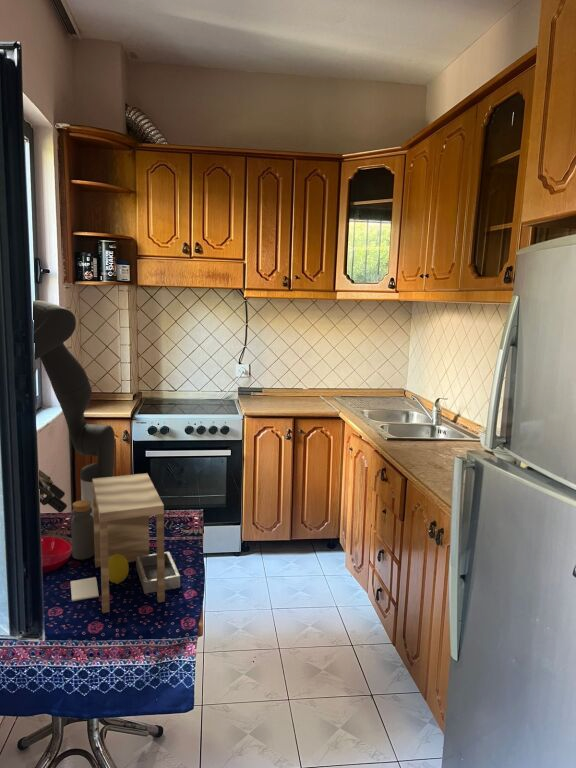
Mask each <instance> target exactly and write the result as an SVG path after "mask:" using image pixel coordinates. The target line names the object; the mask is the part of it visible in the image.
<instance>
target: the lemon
mask: <svg viewBox="0 0 576 768" xmlns="http://www.w3.org/2000/svg"><path fill="white" fill-rule="evenodd" d="M129 568H130V566H129V562H128V561H127V559H126V558H125V557H124V556H123V555H120V554H115V555H113V556H111V557H110V558H109V559H108V570H109V582H111V583H113V584H116V585H119V584H120V583H122V582H123V581H125V579H126V578H127V577H128V575H129Z"/></svg>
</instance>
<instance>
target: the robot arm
mask: <svg viewBox="0 0 576 768" xmlns="http://www.w3.org/2000/svg"><path fill="white" fill-rule="evenodd" d="M32 301H33V320H34V343H35V361H36V360H38V359H40V361H41V363H42V365H43V368H44V370H45V372H46V374H47V377H48V379H49V382H50V386H51V388H52V390H53V393H54V395H55V397H56V400H57V401H58V403H59V406H60V408H61V411H62V414H63V415H64V419H65V422H66V425H67V428H68V431H69V435H70V439H71V443H72V446H73V448H74V450H75V451H76V453H77V454H79V455H83V456H93V457H94V456H95V457H97V462H94V463H91V464H87V465H86V466H84V467H82V468H81V469H80V494H81V495H80V498H81V500H87V501H90V502H91V506H90V507H91V508H92V513H91V514H90V515H92V516H93V518H94V514H93V483H92V479H94V478H104V477H114V467H115V444H116V441H115V440H116V438H115V437H116V436H115V431H114V428H113V427H112V426H111V425H108V424H94V423H88V422H87V420H86V419H85V411H86V410H87V408H88V406H89V403H90V401H91V399H92V396H93V395H92V394H93V390H92V389H93V388H92V386H91V384H90V380H89V378H88V374H87V372H86V370H85V369H84V367H83V365H81V363H80V362H79V360H77V359H76V357H75V356H74V355H73V354H72V353H71V351H70V350H69V349H68V348H67V346H66V345H65V344H64V343H65V342H67V341H68V340H69V339H70V338H71V337H72V335H73V334H74V332H75V330H76V326H77V322H76V316H75V315H74V313H73V312H72V311H71V310H69V309H68V308H66V307H64V306H61V305H59V304H55V303H52V302H50V301H49V302H48V301H45V300H38V299H37V300H32ZM39 489H40V502H39V504H41V505H42V506H47V505H48V506H50V508H51V507H52V508H53V509H54V510H56V512H58V513H61V514H62V513H63V512H64V511H65V509H67V508H68V505H67V503H66V502H64V501H63V500H61V499H62V498H63V497H64V496H65V495H66V492H65V491H64V490H62V489H61V488H60V487H58V486H57V485H56V484H54V481H53V480H52V479H51V476H49V475H47V474H46V473H45V472H43V471H42V470H41V469H39ZM44 495H45V497H44ZM81 500H80V501H81Z"/></svg>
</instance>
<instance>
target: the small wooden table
mask: <svg viewBox="0 0 576 768" xmlns="http://www.w3.org/2000/svg"><path fill="white" fill-rule="evenodd" d="M92 483H93V514H94V546H95V554H94V565H95V566H94V567H95V568H99V567H100V576H101V577H100V580H101V581H100V584H101V609H102V610H101V612H102V614H106V613H110V609H111V606H110V583H109V582H110V581H109V570H108V559H109V558H110V557H111V556H113V555H115V554H120V555H123V556H124V557H125V558H126V559H127V561H128V563H131V562H136V557H137V556H143V555H150V516H155V517H156V519H155V520H156V528H155V529H156V530H155V531H156V533H155V534H156V535H155V536H156V553H157V592H156V595H157V596H156V599H157V602H158V603H164V602H165V601H166V600H165V599H166V597H165V596H166V595H165V593H166V592H165V591H166V590H165V576H164V552H165V505H164V503H163V501H162V498H161V497H160V495H159V493H158V491H157V488H155V485H154V483H153V481H152V480H151V477H150V476H149V473H148V472H146V473H135V474H124V475H118V476H117V475H116V476H114V475H113V477H104V478H94V479H92Z"/></svg>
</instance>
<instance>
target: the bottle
mask: <svg viewBox="0 0 576 768" xmlns="http://www.w3.org/2000/svg"><path fill="white" fill-rule="evenodd" d="M90 506H91V502H90V501H87V500H77V501H75V502H73V503H72V508H73V509H72V510H71V513H72V518H71V520H70V524H71V525H70V527H71V529H70V530H71V551H72V552H71V553H72V554H71V555H72V557H73V559H75V560H86V559H90V558H92V557H93V556H95V546H94V518H93V516H92V515H90V514H91V513H92V508H91V507H90Z"/></svg>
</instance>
